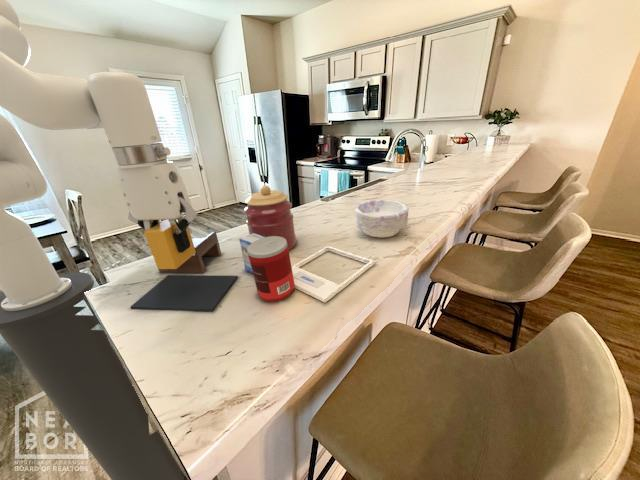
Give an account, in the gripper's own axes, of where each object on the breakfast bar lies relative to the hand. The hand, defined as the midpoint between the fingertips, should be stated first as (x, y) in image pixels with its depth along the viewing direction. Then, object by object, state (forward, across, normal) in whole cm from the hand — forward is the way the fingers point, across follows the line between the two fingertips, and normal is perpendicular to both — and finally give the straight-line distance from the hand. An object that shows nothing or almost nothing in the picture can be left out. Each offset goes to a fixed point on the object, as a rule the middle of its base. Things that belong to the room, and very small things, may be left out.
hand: (173, 248), depth 53 cm
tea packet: (+3, 0, 0) cm, 3 cm away
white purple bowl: (+11, -44, -32) cm, 55 cm away
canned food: (+11, -20, -1) cm, 23 cm away
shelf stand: (+11, +7, -13) cm, 18 cm away
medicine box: (+11, -14, -9) cm, 20 cm away
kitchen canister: (+11, -13, -23) cm, 29 cm away
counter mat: (+11, 0, 0) cm, 11 cm away
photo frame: (+11, -30, -9) cm, 33 cm away
